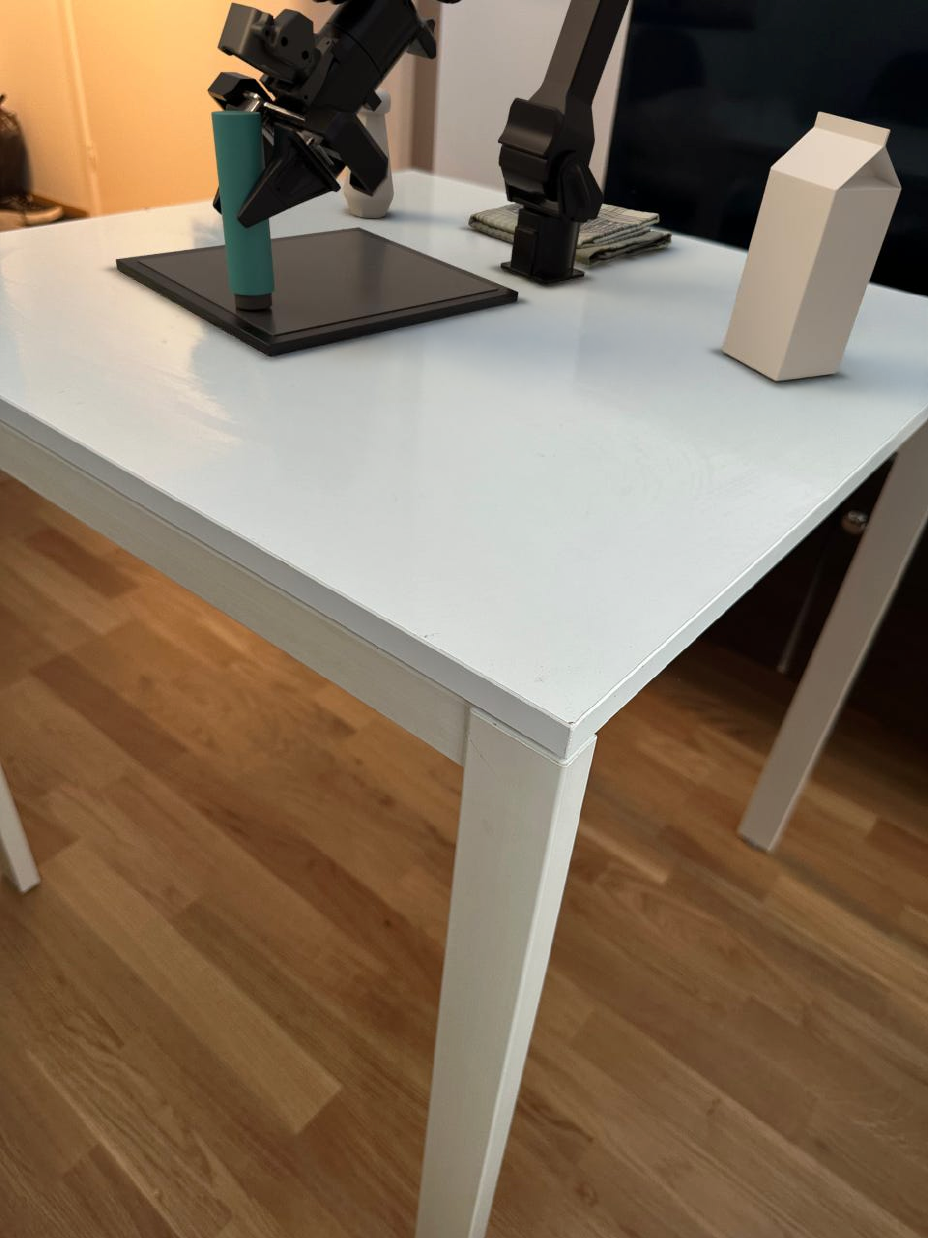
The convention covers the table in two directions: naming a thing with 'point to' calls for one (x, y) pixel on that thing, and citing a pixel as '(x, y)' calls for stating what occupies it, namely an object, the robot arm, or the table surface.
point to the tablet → (320, 288)
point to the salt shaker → (384, 196)
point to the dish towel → (587, 232)
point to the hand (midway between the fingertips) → (228, 216)
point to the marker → (236, 179)
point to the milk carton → (813, 250)
